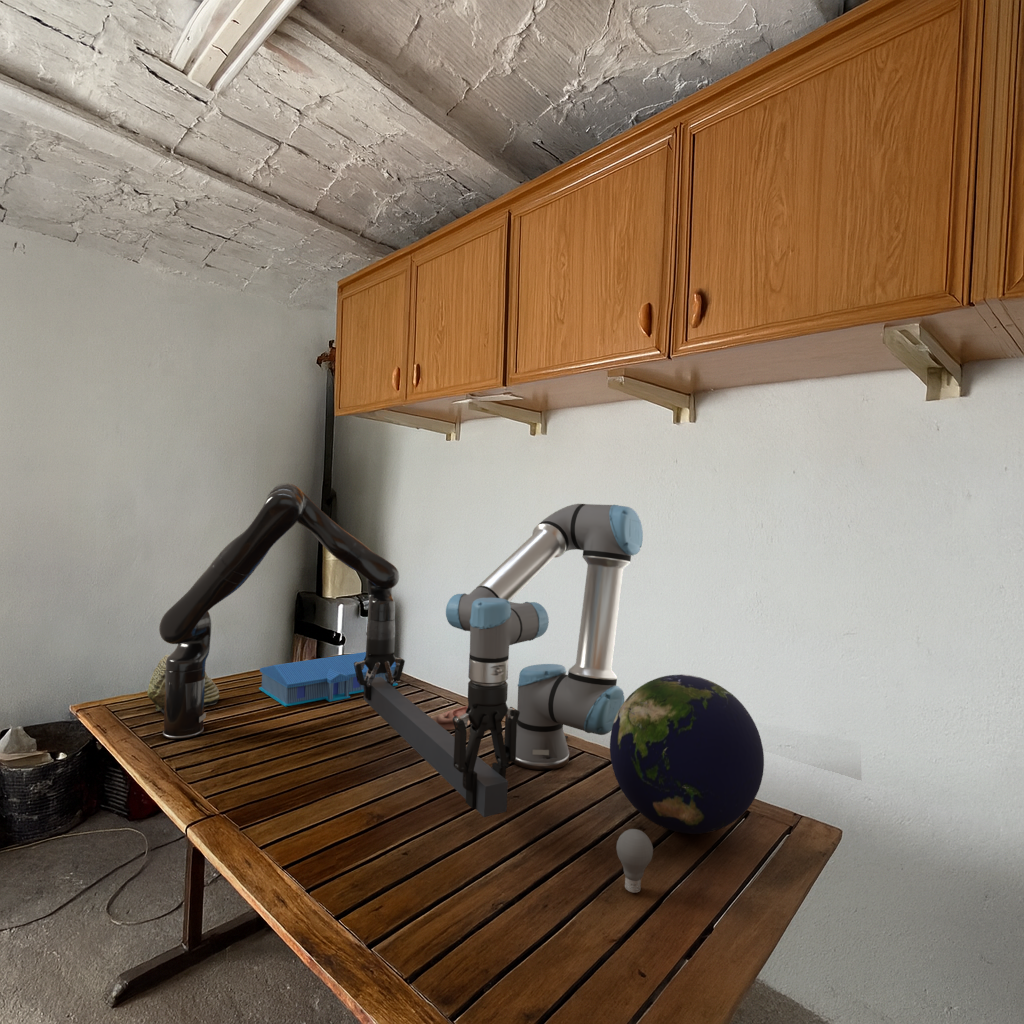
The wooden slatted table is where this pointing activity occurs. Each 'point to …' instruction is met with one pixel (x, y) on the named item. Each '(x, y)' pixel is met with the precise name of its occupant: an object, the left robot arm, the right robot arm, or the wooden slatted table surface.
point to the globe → (686, 754)
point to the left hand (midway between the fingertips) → (378, 697)
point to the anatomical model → (449, 717)
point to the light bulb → (634, 857)
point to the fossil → (158, 687)
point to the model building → (315, 679)
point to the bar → (437, 746)
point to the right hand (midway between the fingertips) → (483, 801)
